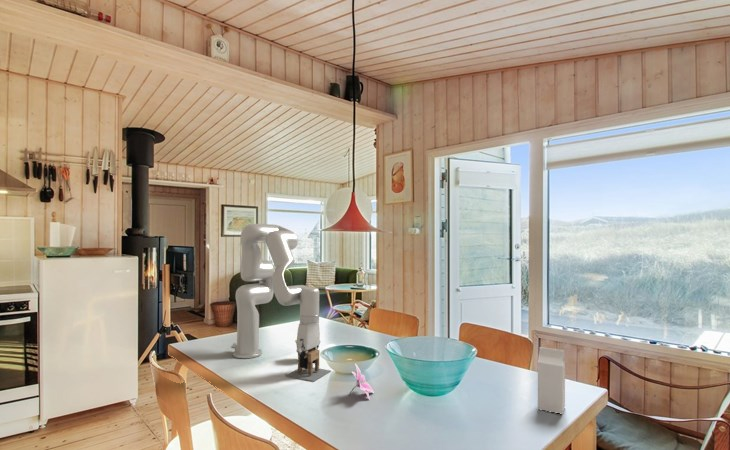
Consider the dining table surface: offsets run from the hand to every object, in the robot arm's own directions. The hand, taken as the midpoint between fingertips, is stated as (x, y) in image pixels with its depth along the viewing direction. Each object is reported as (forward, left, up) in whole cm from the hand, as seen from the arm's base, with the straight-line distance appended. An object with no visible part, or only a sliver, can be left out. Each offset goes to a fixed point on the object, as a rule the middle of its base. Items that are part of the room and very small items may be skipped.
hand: (308, 364), depth 158 cm
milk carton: (+87, +8, -4) cm, 87 cm away
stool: (0, 0, -3) cm, 3 cm away
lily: (+28, -10, -4) cm, 30 cm away
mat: (0, 0, -3) cm, 3 cm away
